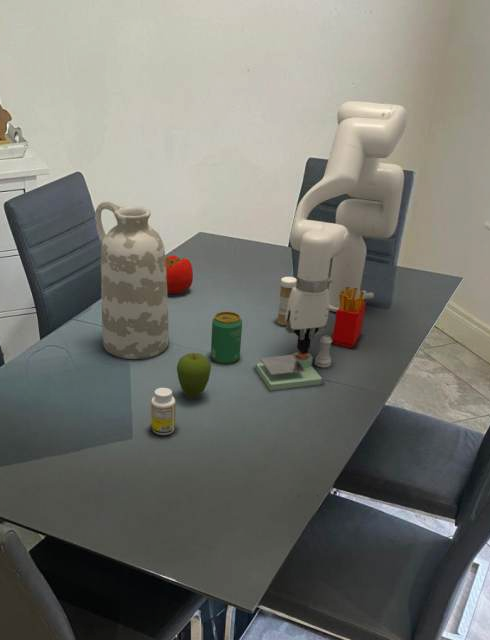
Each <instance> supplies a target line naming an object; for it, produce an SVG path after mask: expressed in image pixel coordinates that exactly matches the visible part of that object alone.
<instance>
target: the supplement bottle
mask: <svg viewBox="0 0 490 640" xmlns="http://www.w3.org/2000/svg"><path fill="white" fill-rule="evenodd" d="M150 407H151V408H150V409H151V430H152V432H154V433H155V434H157V435H161V436H167V435H170V434H172V433H174V431H175V430H176V398H175V397H174V396H173V390H172V389H171V388H168V387H159V388H156V389H155V390H154V396H153V397H152V398H151V401H150Z"/></svg>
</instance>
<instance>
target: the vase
mask: <svg viewBox="0 0 490 640" xmlns="http://www.w3.org/2000/svg"><path fill="white" fill-rule="evenodd" d="M104 210H107V211H110V212H112V213H113V216H114V218H115V220H116V225H115V226H113V227H112V228H110V230H109V231H108V232H107V234H106V232H105V228H104V226H103V221H102V213H103V211H104ZM150 217H151V211H150V209H148V208H147V207H144V206H139V205H138V206H137V205H132V206H131V205H130V206H128V205H127V206H120V205H118V204H115V203H113V202H110V201H103V202H100V203H99V204H98V205H97V207H96V209H95V211H94V225H95V228H96V233H97V235H98V239H99V243H100V246H101V251H100V252H101V253H100V279H101V280H100V282H101V285H100V286H101V329H102V331H101V332H102V345H103V348H104V350H105V351H106V352H107V353H108V354H110V355H112V356H113V357H117V358H121V359H125V360H126V359H128V360H143V359H148V358H149V359H150V358H153V357H156V356H159V355H161V354H163V353H164V352H165V351H166V350H167V349H168V347H169V342H170V341H169V339H170V338H169V336H170V335H169V332H170V331H169V300H168V299H169V297H168V293H167V276H166V259H165V258H166V251H165V245H164V242H163V239H162V237H161V236H160V233H158V232H157V230H156V229H155V228H153V227H152V226H150V224H149V218H150Z"/></svg>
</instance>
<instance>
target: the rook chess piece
mask: <svg viewBox="0 0 490 640" xmlns="http://www.w3.org/2000/svg"><path fill="white" fill-rule="evenodd" d="M319 342H320V344H319V347H320V348H319V352H318V354H317V355H316V357H315V358H314V365H315V366H316V367H317V368H322V369H325V368H326V369H327V368H329V367H330V366H331V365H332V358H331V355H330V349H331V344H332V336H331V335H327V334H326V335H322V336H321V338H320V339H319Z"/></svg>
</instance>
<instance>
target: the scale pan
mask: <svg viewBox="0 0 490 640" xmlns="http://www.w3.org/2000/svg"><path fill="white" fill-rule="evenodd" d="M259 361H260V363H263V364H264V366H265V367H266V368H267V370H268V371H269V373H270V374H271V375H279V374H288V373H296V372H305V370H304V369H303V368H302V366H301V365H300V364H299V363H298V361H297V360H296V359H295V358H294V356H293V355H292V354H286V355H277V356H269V357H260V358H259Z"/></svg>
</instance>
